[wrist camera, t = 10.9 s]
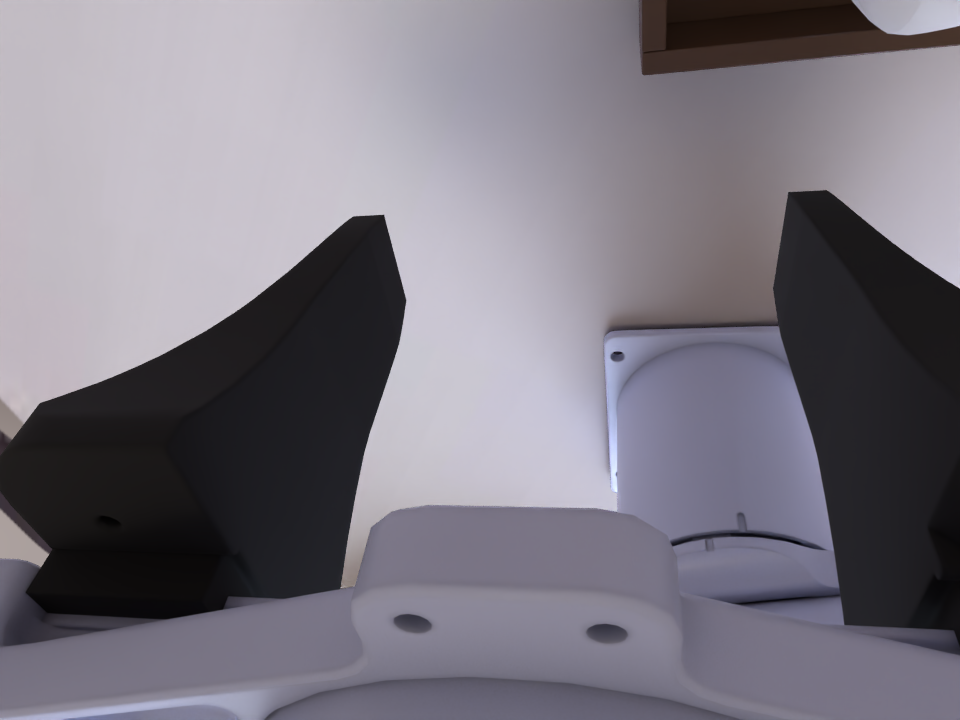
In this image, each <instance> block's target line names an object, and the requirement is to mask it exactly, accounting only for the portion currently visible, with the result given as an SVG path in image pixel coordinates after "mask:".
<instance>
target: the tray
mask: <svg viewBox="0 0 960 720" xmlns="http://www.w3.org/2000/svg"><path fill="white" fill-rule="evenodd" d="M639 38H640V54H641V67H642V74H643V75H653V74H663V73H674V72H684V71H695V70H705V69H716V68H726V67H737V66H747V65H758V64H768V63H779V62H789V61H800V60H810V59H821V58H831V57H842V56H852V55H863V54H873V53H884V52H894V51H905V50H915V49H926V48H936V47H947V46H957V45H960V26H957V27H952V28H948V29H943V30H938V31H933V32H928V33H921V34H914V35H898V34H888V33H886V32H884V31H883V30H881V29H880V28H878V27H877V26H876V25H874V24H873V23H872V22H870V21H869V20H868V19H867V18H866V16H865V15H864V14H863V13H862V12H861V11H860V10H859V8H858V7H857V6H856V5H855V4H854V3H853V2H852V0H639Z"/></svg>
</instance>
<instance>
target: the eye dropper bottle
mask: <svg viewBox="0 0 960 720" xmlns="http://www.w3.org/2000/svg"><path fill="white" fill-rule="evenodd" d="M852 2H853V3H854V4H855V5H856V6H857V7H858V8H859V10H860V11H861V12H862V13H863V14H864V15H865V16H866V18H867V19H868V20H869V21H870V22H872V23H873V24H874V25H876V26H877V27H878V28H880V29H881V30H883V31H884V32H886V33H888V34H898V35H914V34H921V33H928V32H933V31H938V30H943V29H948V28H952V27H957V26H960V0H852Z"/></svg>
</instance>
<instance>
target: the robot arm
mask: <svg viewBox="0 0 960 720" xmlns="http://www.w3.org/2000/svg"><path fill="white" fill-rule="evenodd" d="M773 291H774V298H775V304H776V311H777V318H778V324H779V326H756V327H721V328H687V329H652V330H618V331H612V332H610V333H608V334H607V335H606V336H605V338H604V361H605V381H606V401H607V421H608V441H609V461H610V482H611V489H612V491H613V492H615V493H617V512H614V511H608V510H603V509H597V508H549V507H500V506H451V505H426V506H419V507H413V508H406V509H399V510H396V511H393V512H391V513H389V514H388V515H387V516H385V517H384V518H383V519H381V520H380V521H379V522H378V523H376V524H375V525H374V526H372V527H371V530H370V534H369V537H368V541H367V545H366V548H365V552H364V556H363V559H362V563H361V567H360V570H359V574H358V578H357V581H356V585H355V587H349V588H344V589H340V587H341V581H342V574H343V567H344V561H345V554H346V547H347V541H348V534H349V529H350V523H351V518H352V512H353V506H354V501H355V495H356V490H357V485H358V480H359V475H360V471H361V466H362V461H363V456H364V451H365V448H366V444H367V441H368V437H369V434H370V430H371V427H372V425H373V422H374V419H375V416H376V413H377V410H378V407H379V404H380V401H381V398H382V395H383V392H384V389H385V386H386V383H387V380H388V377H389V374H390V370H391V367H392V364H393V361H394V358H395V355H396V352H397V349H398V345H399V341H400V336H401V330H402V325H403V319H404V312H405V306H406V297H405V294H404V290H403V286H402V282H401V278H400V275H399V271H398V267H397V263H396V259H395V256H394V252H393V248H392V244H391V240H390V236H389V233H388V229H387V225H386V221H385V217H384V215H373V216H355V217H352V218H351V219H349V220H348V221H347V222H345V223H344V224H343V225H342V226H340V227H339V228H338V229H337V230H336V231H335V232H333V233H332V234H331V235H330V236H329V237H328V238H326V239H325V240H324V241H323V242H322V243H321V244H320V245H319V246H317V247H316V248H315V249H314V250H313V251H312V252H311V253H309V254H308V255H307V256H306V257H305V258H304V259H303V260H301V261H300V262H299V263H298V264H297V265H296V266H294V267H293V268H292V269H291V270H290V271H289V272H287V273H286V274H285V275H284V276H282V277H281V278H280V279H279V280H277V281H276V282H275V283H274V284H272V285H271V286H270V287H268V288H267V289H266V290H265V291H263V292H262V293H261V294H260V295H258V296H257V297H256V298H255V299H253V300H252V301H250V302H249V303H248V304H246V305H245V306H244V307H242V308H241V309H239V310H238V311H236V312H235V313H233V314H232V315H230V316H229V317H227V318H226V319H224V320H223V321H221V322H219V323H218V324H216V325H215V326H213V327H212V328H210V329H208V330H207V331H205V332H203V333H202V334H200V335H198V336H196V337H194V338H192V339H190V340H189V341H187V342H185V343H183V344H181V345H179V346H178V347H176V348H174V349H172V350H170V351H168V352H167V353H165V354H163V355H161V356H159V357H157V358H155V359H152V360H150V361H148V362H146V363H144V364H142V365H140V366H137V367H135V368H133V369H131V370H128V371H126V372H123V373H121V374H119V375H116V376H114V377H112V378H109V379H107V380H104V381H102V382H99V383H97V384H94V385H91V386H88V387H85V388H82V389H80V390H77V391H74V392H71V393H68V394H66V395H63V396H60V397H57V398H54V399H51V400H48V401H45V402H42V403H40V404H39V405H38V406H37V408H36V409H35V410H34V412H33V413H32V414H31V416H30V417H29V418H28V420H27V421H26V422H25V424H24V425H23V426H22V428H21V429H20V430H19V432H18V433H17V434H16V436H15V437H14V438H13V439H12V441H11V442H10V443H9V445H8V446H7V447H6V449H5V450H4V451H3V453H2V454H1V455H0V491H1V493H2V494H3V495H4V497H5V498H6V499H7V501H8V502H9V503H10V505H11V506H12V507H13V508H14V509H15V510H16V511H17V512H18V513H19V514H20V515H21V516H22V517H23V519H24V520H25V521H26V522H27V523H28V524H29V525H30V526H31V527H32V528H33V529H34V530H35V531H36V532H37V533H38V534H39V535H40V537H41V538H42V539H43V540H44V541H45V542H46V543H47V544H48V545H49V546H50V547H51V548H52V551H51V553H50V554H49V556H48V557H47V559H46V561H45V562H44V564H43V565H42V567H40V566H38V565H36V564H33V563H31V562H28V561H24V560H19V559H0V720H960V289H959V288H958V287H956V286H954V285H953V284H951V283H949V282H948V281H946V280H945V279H943V278H942V277H940V276H939V275H937V274H936V273H934V272H933V271H931V270H930V269H928V268H927V267H925V266H924V265H922V264H921V263H919V262H918V261H916V260H915V259H914V258H912V257H911V256H910V255H908V254H907V253H905V252H904V251H903V250H901V249H900V248H899V247H897V246H896V245H895V244H893V243H892V242H891V241H889V240H888V239H887V238H886V237H884V236H883V235H882V234H881V233H879V232H878V231H877V230H876V229H874V228H873V227H872V226H871V225H869V224H868V223H867V222H866V221H865V220H863V219H862V218H861V217H860V216H858V215H857V214H856V213H855V212H854V211H852V210H851V209H850V208H849V207H848V206H846V205H845V204H844V203H843V202H842V201H840V200H839V199H838V198H837V197H835V196H834V195H833V194H831V193H830V192H829V191H827V190H821V191H803V192H789V193H788V199H787V205H786V211H785V218H784V224H783V230H782V236H781V243H780V249H779V255H778V261H777V268H776V274H775V280H774V286H773ZM616 351H619V352H622V354H619V355H616V354H613V352H616Z"/></svg>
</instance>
